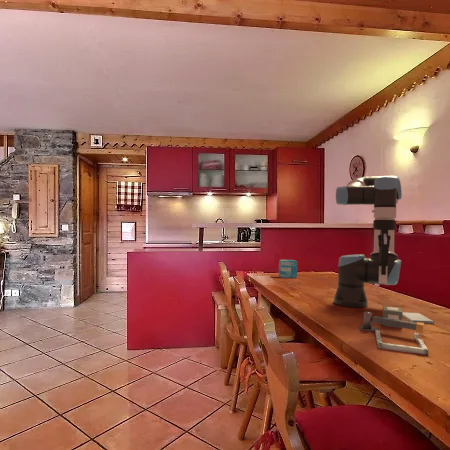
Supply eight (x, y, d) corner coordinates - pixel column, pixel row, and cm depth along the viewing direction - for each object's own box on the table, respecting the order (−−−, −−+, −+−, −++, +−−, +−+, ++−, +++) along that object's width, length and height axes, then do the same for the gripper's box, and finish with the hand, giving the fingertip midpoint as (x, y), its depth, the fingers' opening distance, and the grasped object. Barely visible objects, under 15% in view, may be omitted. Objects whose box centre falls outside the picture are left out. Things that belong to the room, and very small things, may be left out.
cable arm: (372, 323, 121) (372, 316, 121) (374, 321, 123) (374, 314, 123) (423, 332, 112) (423, 325, 112) (423, 330, 114) (424, 323, 114)
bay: (374, 332, 120) (375, 328, 120) (418, 337, 115) (418, 333, 115) (378, 348, 104) (378, 343, 104) (428, 355, 100) (428, 350, 100)
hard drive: (434, 321, 131) (419, 312, 144) (412, 320, 132) (399, 311, 145) (434, 325, 131) (419, 316, 144) (412, 324, 132) (399, 315, 145)
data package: (279, 277, 233) (279, 260, 233) (278, 276, 238) (279, 259, 238) (297, 278, 233) (297, 260, 233) (296, 277, 237) (296, 260, 237)
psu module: (382, 321, 134) (382, 305, 134) (399, 323, 132) (399, 307, 132) (384, 326, 127) (384, 309, 127) (402, 328, 125) (402, 311, 125)
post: (359, 326, 126) (360, 310, 126) (374, 328, 125) (375, 311, 125) (360, 330, 122) (360, 313, 122) (375, 332, 120) (375, 315, 120)
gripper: (372, 219, 133) (370, 279, 133) (374, 218, 120) (372, 285, 121) (393, 219, 130) (392, 281, 130) (398, 219, 118) (396, 287, 118)
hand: (382, 283), depth 125 cm, fingers closed
